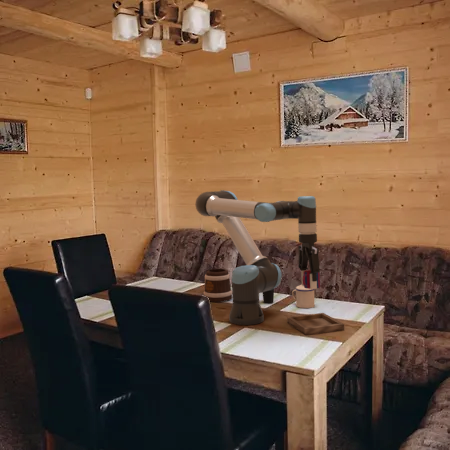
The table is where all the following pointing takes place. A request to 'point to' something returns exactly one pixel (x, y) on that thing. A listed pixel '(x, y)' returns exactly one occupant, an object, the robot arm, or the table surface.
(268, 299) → the drinking cup
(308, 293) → the teacup with lid
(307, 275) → the cup
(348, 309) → the table surface
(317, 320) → the walnut tray
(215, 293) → the mug
